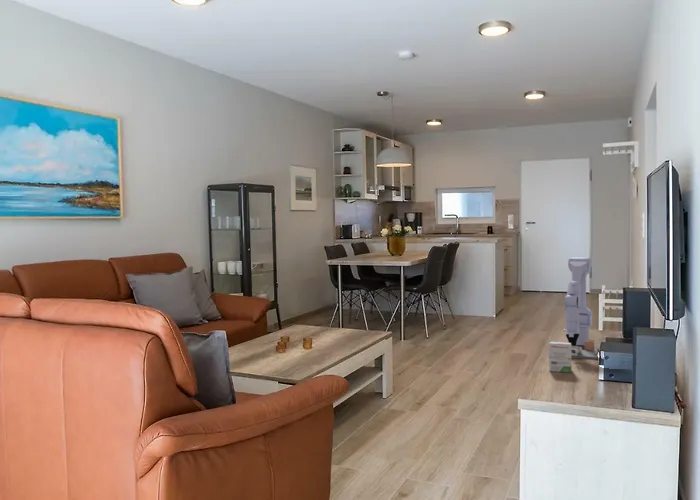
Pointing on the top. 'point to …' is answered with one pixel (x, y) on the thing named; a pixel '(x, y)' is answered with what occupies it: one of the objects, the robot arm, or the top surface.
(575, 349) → the cover
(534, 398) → the top surface
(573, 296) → the robot arm
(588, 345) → the block
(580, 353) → the deck
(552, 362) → the ink box
